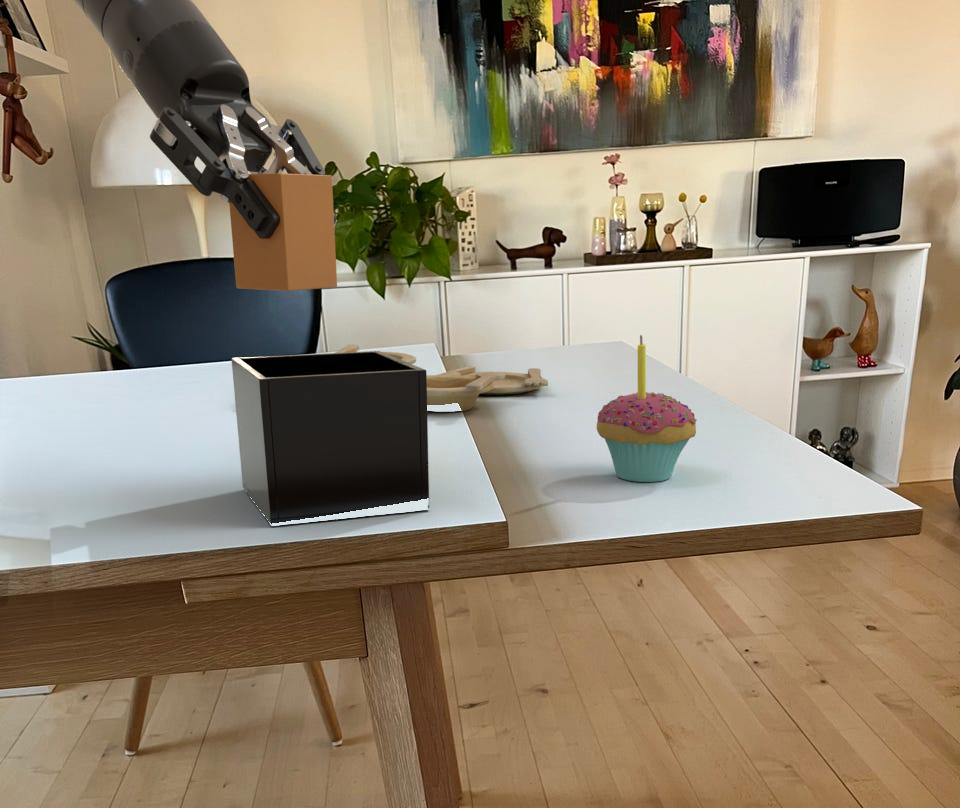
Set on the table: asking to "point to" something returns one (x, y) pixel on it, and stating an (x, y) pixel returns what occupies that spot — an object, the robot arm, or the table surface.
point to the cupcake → (645, 430)
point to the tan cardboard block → (288, 236)
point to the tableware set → (470, 382)
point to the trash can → (331, 432)
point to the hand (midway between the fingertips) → (300, 229)
